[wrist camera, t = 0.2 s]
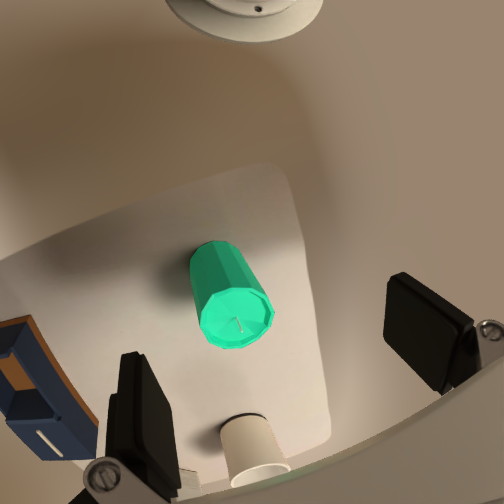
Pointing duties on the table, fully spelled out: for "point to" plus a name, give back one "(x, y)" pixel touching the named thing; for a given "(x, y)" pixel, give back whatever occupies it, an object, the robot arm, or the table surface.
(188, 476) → the cosmetic box
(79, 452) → the navy slotted box
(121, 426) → the robot arm
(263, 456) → the mug
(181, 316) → the table surface
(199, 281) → the candle
